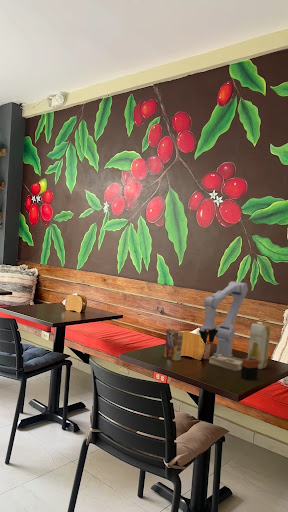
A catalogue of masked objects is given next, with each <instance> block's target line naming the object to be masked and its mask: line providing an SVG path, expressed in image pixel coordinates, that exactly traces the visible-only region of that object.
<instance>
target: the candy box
mask: <svg viewBox="0 0 288 512" xmlns="http://www.w3.org/2000/svg"><path fill="white" fill-rule="evenodd" d="M183 337H184V331H180V330H177V329H174V328H167V329H166V336H165V346H164V357H165V358H167V359H170V360H172V361H175V362H177V361H181V357H182V356H181V355H182V347H183V339H184V338H183Z"/></svg>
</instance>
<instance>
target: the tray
mask: <svg viewBox="0 0 288 512" xmlns="http://www.w3.org/2000/svg"><path fill="white" fill-rule="evenodd" d="M243 359H244V358H238V357H235V356H228V355H224V354H219V355H212V356H209V359H208V360H209V361H208V364H210V365H213V366H216V367H219V368H222V369H226V370H230V371H232V372H233V371H234V372H239V371H242V361H243Z"/></svg>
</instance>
